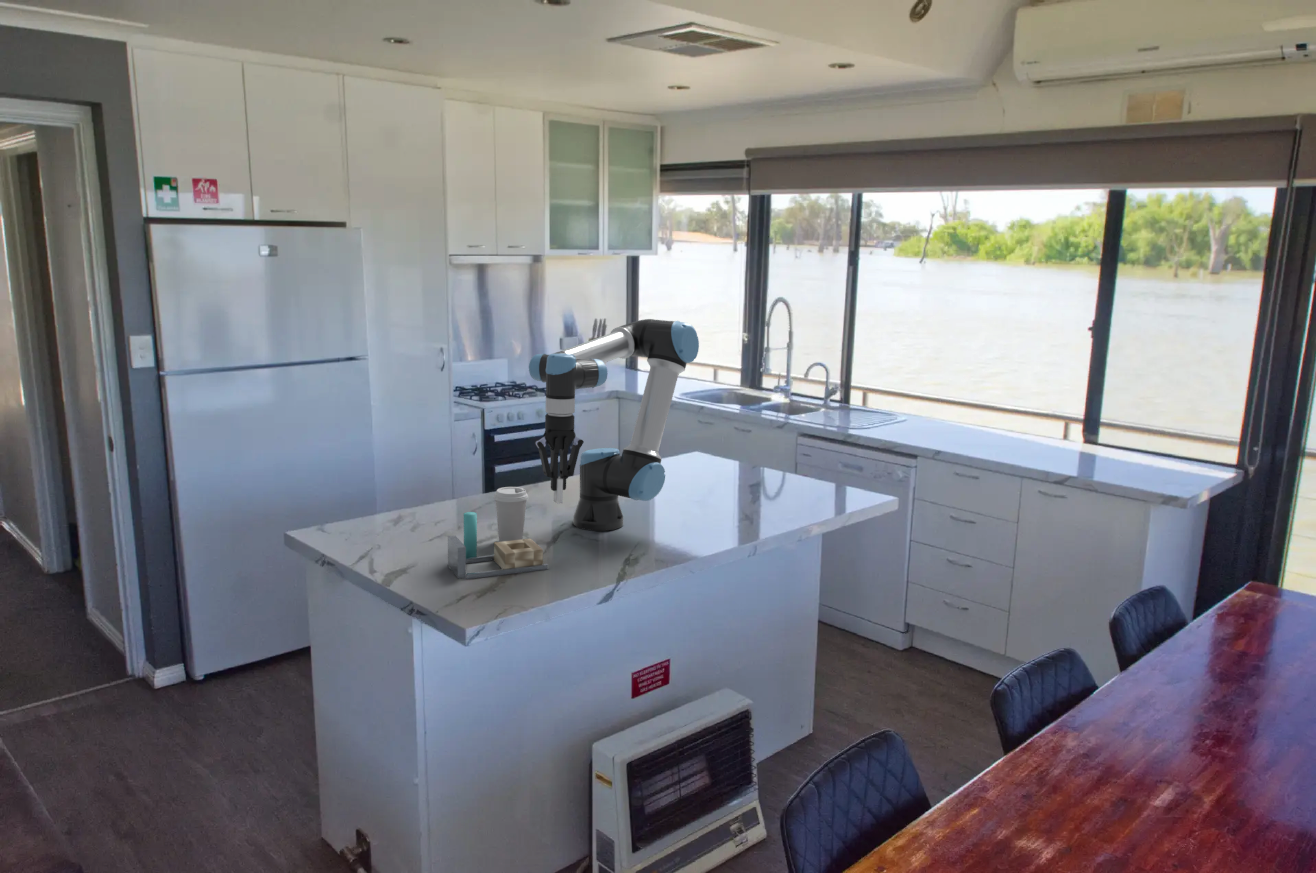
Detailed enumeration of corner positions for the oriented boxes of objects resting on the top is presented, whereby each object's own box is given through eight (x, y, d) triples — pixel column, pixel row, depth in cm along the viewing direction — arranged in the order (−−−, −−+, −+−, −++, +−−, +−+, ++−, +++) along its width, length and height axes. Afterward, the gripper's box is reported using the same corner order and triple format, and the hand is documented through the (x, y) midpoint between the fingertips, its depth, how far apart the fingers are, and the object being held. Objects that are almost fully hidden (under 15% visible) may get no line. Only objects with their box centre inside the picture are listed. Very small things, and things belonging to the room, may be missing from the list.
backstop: (532, 554, 251) (532, 526, 249) (547, 569, 240) (548, 539, 238) (446, 564, 240) (446, 535, 239) (459, 580, 230) (458, 549, 228)
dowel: (474, 554, 249) (474, 511, 247) (478, 558, 246) (478, 514, 244) (462, 556, 248) (462, 512, 245) (465, 559, 245) (465, 516, 242)
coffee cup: (521, 548, 256) (521, 496, 253) (488, 545, 257) (488, 493, 254) (532, 538, 265) (533, 487, 262) (500, 535, 267) (501, 485, 264)
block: (530, 556, 249) (530, 538, 248) (542, 567, 240) (542, 549, 239) (494, 560, 245) (494, 542, 244) (505, 572, 236) (505, 553, 235)
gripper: (578, 410, 246) (575, 496, 250) (531, 412, 240) (529, 500, 245) (588, 415, 239) (586, 503, 244) (540, 417, 234) (539, 507, 238)
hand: (558, 502), depth 244 cm, fingers closed
